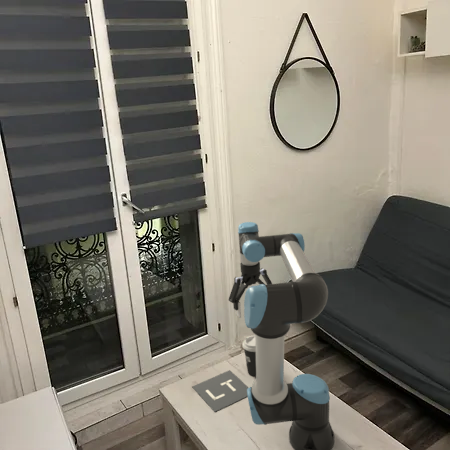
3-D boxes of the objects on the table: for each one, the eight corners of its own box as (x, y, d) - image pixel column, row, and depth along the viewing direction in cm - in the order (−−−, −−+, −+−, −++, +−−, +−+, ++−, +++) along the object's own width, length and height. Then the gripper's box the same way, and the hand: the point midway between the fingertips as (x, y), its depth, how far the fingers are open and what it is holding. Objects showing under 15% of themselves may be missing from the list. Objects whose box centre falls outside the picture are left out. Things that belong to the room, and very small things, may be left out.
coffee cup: (255, 361, 205) (254, 331, 200) (271, 371, 198) (270, 340, 193) (239, 371, 199) (237, 340, 194) (255, 381, 192) (253, 350, 187)
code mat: (254, 393, 186) (254, 392, 185) (214, 412, 177) (214, 411, 177) (229, 370, 200) (229, 370, 200) (192, 387, 192) (192, 386, 192)
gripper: (269, 251, 191) (271, 298, 198) (217, 267, 179) (221, 317, 186) (281, 256, 185) (283, 304, 192) (227, 273, 173) (231, 325, 180)
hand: (252, 311), depth 189 cm, fingers open, 13 cm apart
